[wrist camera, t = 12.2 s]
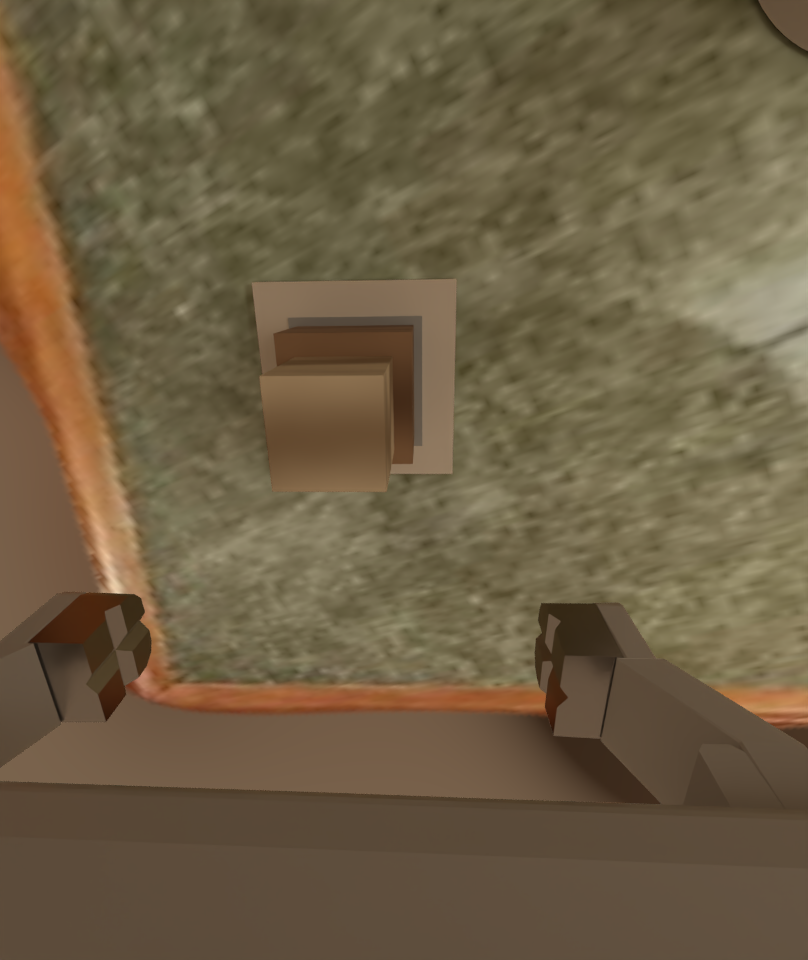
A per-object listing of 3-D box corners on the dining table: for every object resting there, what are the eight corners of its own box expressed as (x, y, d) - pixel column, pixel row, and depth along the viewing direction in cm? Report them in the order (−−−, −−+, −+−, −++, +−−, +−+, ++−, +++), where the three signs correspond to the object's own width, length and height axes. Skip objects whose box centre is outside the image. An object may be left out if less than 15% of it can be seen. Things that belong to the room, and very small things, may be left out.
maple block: (295, 356, 26) (259, 376, 20) (392, 356, 25) (383, 375, 20) (303, 449, 27) (272, 491, 22) (394, 449, 27) (386, 492, 22)
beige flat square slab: (256, 282, 30) (250, 282, 29) (455, 279, 30) (456, 278, 29) (277, 468, 34) (272, 474, 33) (451, 468, 34) (452, 474, 33)
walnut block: (296, 326, 30) (273, 333, 25) (413, 325, 30) (411, 331, 25) (306, 438, 32) (287, 464, 28) (414, 438, 32) (412, 464, 27)
